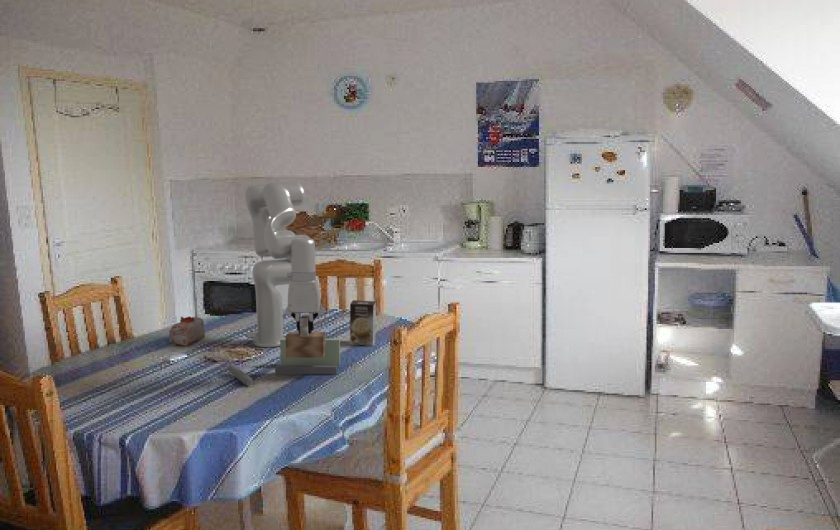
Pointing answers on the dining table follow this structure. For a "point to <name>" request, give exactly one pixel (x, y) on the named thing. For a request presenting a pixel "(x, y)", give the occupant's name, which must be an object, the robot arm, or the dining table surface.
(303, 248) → the robot arm
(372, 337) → the coffee box
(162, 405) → the dining table surface
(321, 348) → the walnut mallet
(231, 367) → the kitchen whisk
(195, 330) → the food item
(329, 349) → the cleat board
